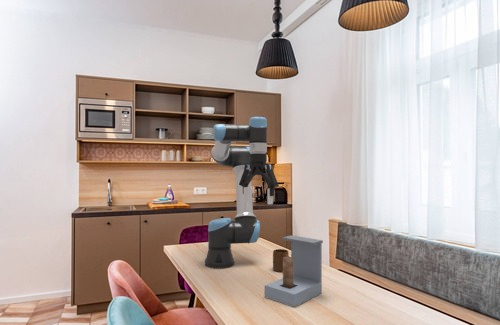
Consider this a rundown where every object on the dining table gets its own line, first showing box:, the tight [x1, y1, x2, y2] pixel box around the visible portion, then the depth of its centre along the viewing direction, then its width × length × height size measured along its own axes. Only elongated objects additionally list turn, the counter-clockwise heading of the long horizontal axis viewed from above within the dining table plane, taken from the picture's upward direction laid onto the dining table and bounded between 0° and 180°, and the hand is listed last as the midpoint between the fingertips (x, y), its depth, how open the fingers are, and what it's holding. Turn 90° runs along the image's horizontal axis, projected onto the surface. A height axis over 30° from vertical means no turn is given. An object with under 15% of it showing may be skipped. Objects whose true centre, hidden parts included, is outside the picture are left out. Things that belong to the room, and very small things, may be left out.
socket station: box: [264, 235, 324, 308], centre depth 133 cm, size 15×18×21 cm
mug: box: [272, 248, 290, 273], centre depth 164 cm, size 12×8×9 cm, turn 22°
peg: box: [282, 256, 294, 289], centre depth 130 cm, size 4×4×15 cm
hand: (257, 203), depth 145 cm, fingers open, 13 cm apart
